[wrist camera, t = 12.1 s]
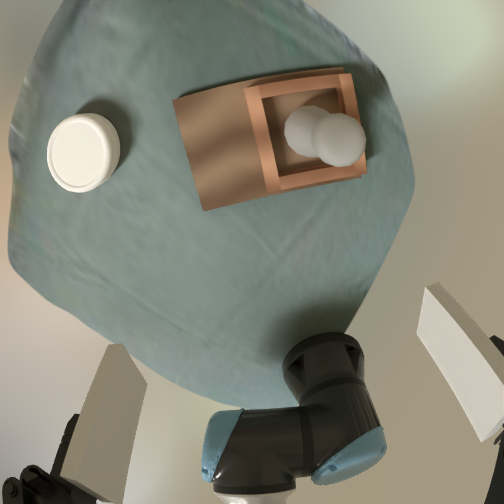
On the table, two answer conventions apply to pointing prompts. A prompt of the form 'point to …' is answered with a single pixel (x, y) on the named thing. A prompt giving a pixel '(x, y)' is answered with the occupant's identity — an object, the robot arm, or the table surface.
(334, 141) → the salt shaker
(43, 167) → the table surface
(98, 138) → the white round container
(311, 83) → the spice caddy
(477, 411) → the robot arm
